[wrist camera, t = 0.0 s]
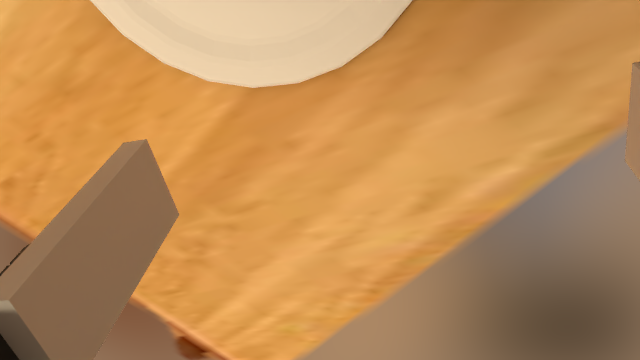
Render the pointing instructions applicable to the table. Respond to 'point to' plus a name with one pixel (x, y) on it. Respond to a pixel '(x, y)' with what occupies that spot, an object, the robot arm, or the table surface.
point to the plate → (253, 35)
